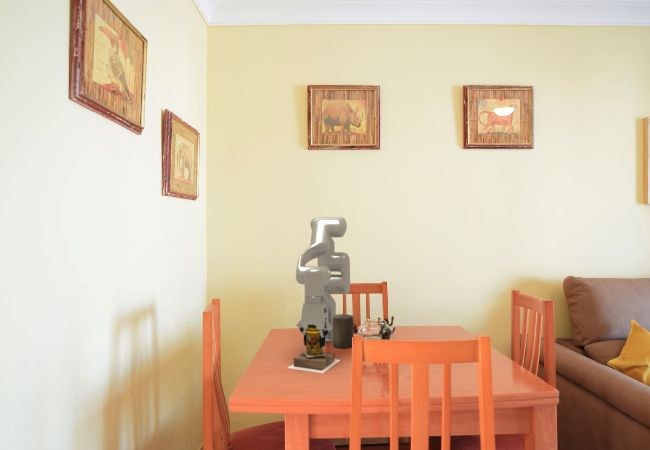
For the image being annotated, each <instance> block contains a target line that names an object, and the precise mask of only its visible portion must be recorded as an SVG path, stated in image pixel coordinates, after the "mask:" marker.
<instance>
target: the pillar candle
mask: <svg viewBox="0 0 650 450" xmlns="http://www.w3.org/2000/svg"><path fill="white" fill-rule="evenodd" d="M352 337H353V338H354V315H352V314H346V313H345V314H344V313H341V314H336V315H334V316H333V341H332V346H333V347H334V348H335V349H336V348H337V349H349V348H353V347H352Z"/></svg>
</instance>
